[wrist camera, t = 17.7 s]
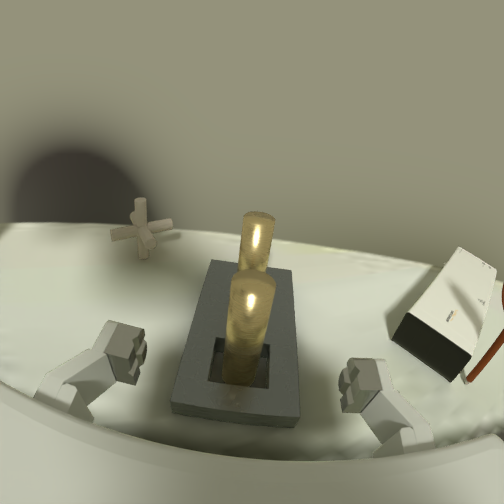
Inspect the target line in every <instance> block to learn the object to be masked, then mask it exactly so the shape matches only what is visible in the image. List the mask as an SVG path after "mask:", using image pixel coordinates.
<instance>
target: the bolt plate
mask: <svg viewBox="0 0 504 504" xmlns="http://www.w3.org/2000/svg"><path fill="white" fill-rule="evenodd" d="M274 225H275V219H274V217H273V216H271V215H269V214H267V213H263V212H248V213H246V214H245V215H244V218H243V227H242V235H241V243H240V251H239V260H238V263H234V262H227V261H219V260H212V259H211V262H210V266H209V269H208V272H207V275H206V278H205V282H204V285H203V288H202V291H201V295H200V298H199V301H198V305H197V308H196V311H195V315H194V318H193V321H192V325H191V328H190V332H189V335H188V338H187V342H186V345H185V349H184V352H183V356H182V359H181V363H180V367H179V370H178V374H177V377H176V381H175V385H174V388H173V392H172V396H171V400H170V403H171V408H172V413H177V414H182V415H187V416H193V417H199V418H204V419H211V420H217V421H224V422H232V423H240V424H250V425H260V426H272V427H289V428H294V426H295V425H296V423H297V421H298V420H299V418H300V404H299V380H298V360H297V342H296V326H295V311H294V297H293V284H292V272H291V270H285V269H278V268H270V267H267V264H268V258H269V253H270V247H271V242H272V236H273V230H274ZM248 269H252V270H259V271H262V272H265V273H267V274H268V275H270V276H271V277H272V278H273V279H274V280H275V282H276V289H275V294H274V298H273V303H272V307H271V312H270V316H269V320H268V325H267V329H266V334H265V338H264V342H263V346H262V351H261V355H260V357H263V358H267V361H266V386H265V389H263V388H254V387H245V386H237V385H229V384H222V383H216V382H209V380H210V375H211V369H212V364H213V359H214V354H215V351H217V352H224V347H225V337H226V327H227V317H228V307H229V297H230V288H231V279H232V277H233V275H234V274H235V273H237V272H239V271H242V270H248Z"/></svg>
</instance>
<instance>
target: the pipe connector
mask: <svg viewBox="0 0 504 504" xmlns="http://www.w3.org/2000/svg"><path fill="white" fill-rule="evenodd" d="M134 201H135V211H133V212H132V213H131V214H130V219H131V221H132V223H133V225H131V226H126V227H121V228H117V229H112V230H110V232H111V238H112V241H117V240H122V239H127V238H131V237H136V236H137V246H138V257H139V258H140V259H147V258H148V257H149V249H154V248H155V247H156V245H157V241H156V239H155V238H154V236H153V235H152V233H156V232H161V231H166V230H171V229H173V222H172V219H171V218H169V219H163V220H158V221H152V222H147V208H146V198H142V197H141V198H136V199H135V200H134Z"/></svg>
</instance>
